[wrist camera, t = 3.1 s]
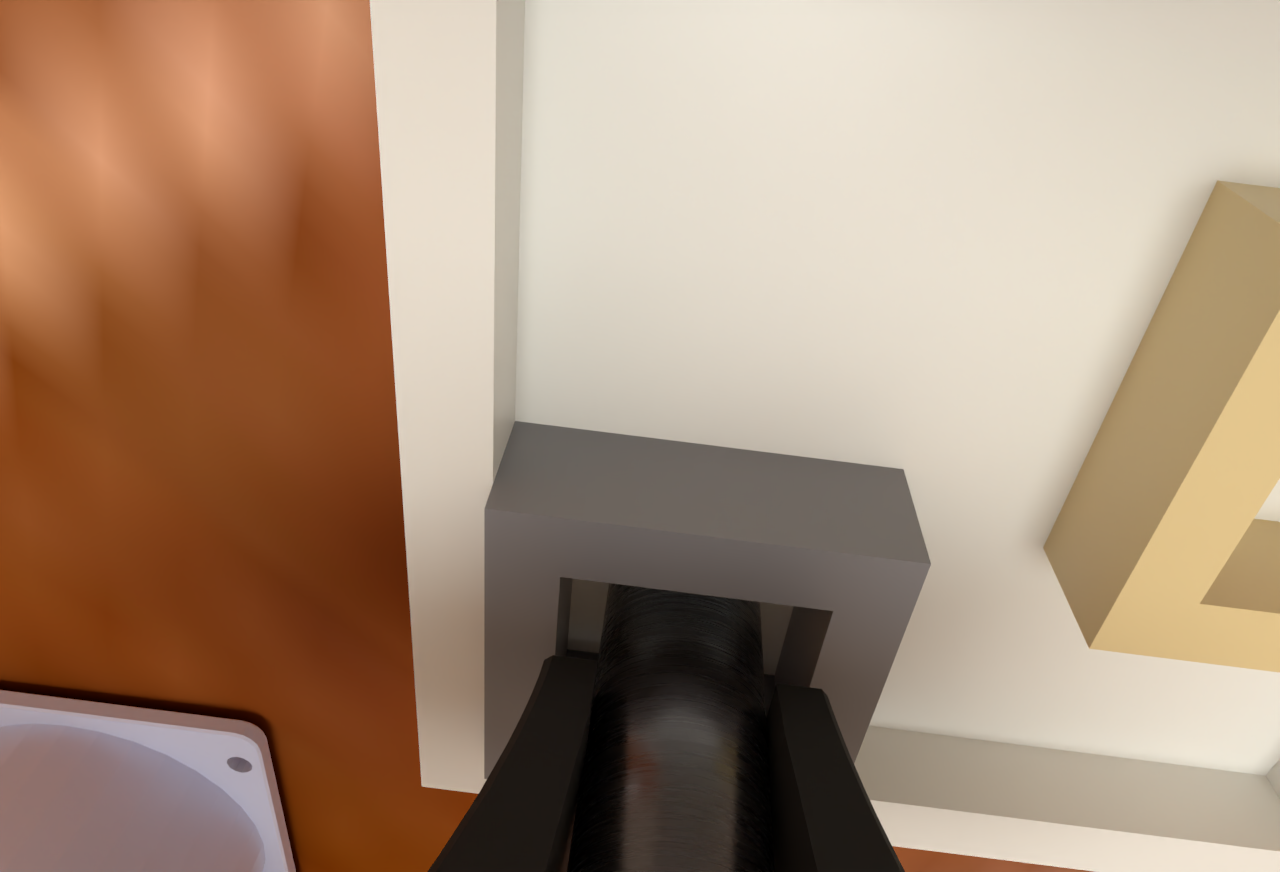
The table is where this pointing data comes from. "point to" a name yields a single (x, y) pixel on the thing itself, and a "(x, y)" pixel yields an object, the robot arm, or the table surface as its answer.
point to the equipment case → (861, 386)
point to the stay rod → (676, 739)
